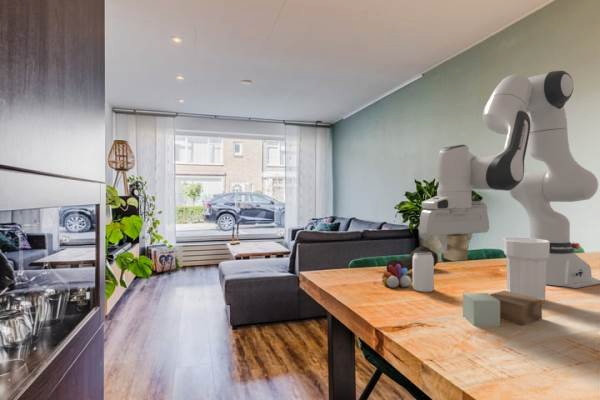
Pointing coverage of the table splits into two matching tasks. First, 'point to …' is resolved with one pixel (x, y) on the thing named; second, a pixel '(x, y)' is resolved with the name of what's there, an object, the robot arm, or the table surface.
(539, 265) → the cup
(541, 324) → the table surface
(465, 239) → the oak block
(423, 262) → the can
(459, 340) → the table surface
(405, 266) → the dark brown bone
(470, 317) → the sage block
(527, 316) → the walnut block
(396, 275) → the colorful ball cluster
